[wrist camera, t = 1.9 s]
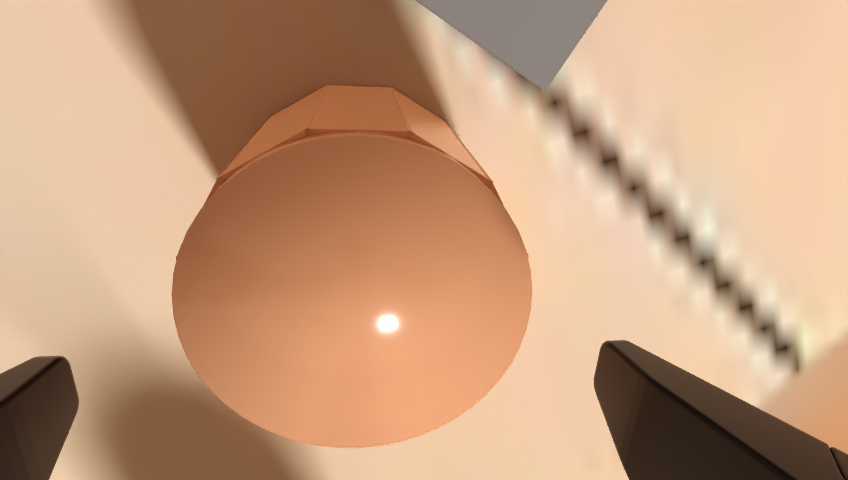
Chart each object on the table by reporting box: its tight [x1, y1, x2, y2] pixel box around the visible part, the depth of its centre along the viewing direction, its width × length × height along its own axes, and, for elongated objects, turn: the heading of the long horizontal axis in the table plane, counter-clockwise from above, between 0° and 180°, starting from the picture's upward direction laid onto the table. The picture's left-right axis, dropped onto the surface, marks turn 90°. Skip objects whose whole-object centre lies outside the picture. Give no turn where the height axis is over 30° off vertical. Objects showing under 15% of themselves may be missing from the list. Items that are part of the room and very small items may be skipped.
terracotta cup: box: [172, 85, 532, 448], centre depth 14 cm, size 7×7×7 cm
